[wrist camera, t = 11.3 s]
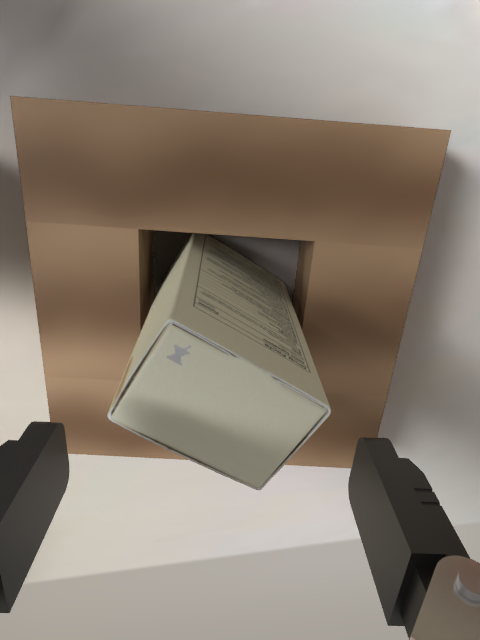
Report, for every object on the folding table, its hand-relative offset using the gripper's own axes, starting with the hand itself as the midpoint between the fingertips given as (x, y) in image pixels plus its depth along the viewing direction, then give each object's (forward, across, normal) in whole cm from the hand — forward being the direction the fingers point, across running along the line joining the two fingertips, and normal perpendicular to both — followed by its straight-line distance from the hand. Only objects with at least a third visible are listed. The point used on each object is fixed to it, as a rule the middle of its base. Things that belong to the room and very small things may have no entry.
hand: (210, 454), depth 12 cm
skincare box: (+14, 0, 0) cm, 14 cm away
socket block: (+14, 0, 0) cm, 14 cm away
